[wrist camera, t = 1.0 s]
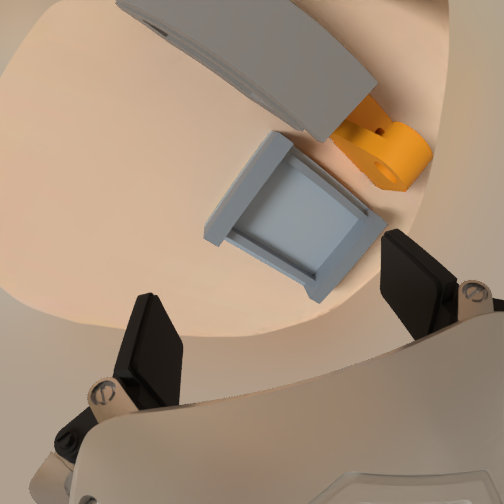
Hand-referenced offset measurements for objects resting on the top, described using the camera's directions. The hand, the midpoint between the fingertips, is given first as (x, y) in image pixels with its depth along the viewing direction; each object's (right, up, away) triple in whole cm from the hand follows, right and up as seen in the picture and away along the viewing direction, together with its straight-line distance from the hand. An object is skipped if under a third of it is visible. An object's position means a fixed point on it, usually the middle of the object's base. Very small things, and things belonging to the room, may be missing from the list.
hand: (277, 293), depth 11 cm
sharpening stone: (-3, +25, +14) cm, 29 cm away
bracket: (+13, +16, +21) cm, 30 cm away
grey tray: (+4, +6, +25) cm, 26 cm away
